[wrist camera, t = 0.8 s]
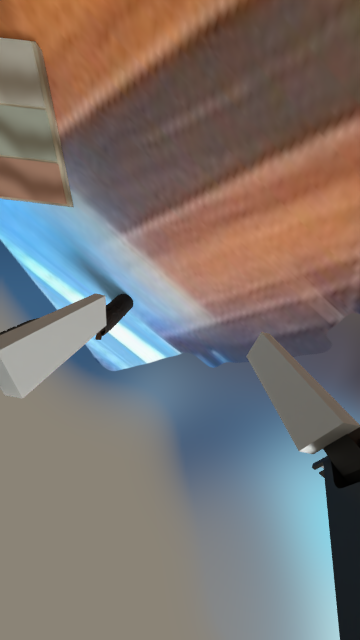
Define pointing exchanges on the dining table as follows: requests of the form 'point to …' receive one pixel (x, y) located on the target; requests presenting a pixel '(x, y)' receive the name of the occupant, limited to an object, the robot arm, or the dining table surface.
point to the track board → (29, 129)
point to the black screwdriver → (115, 313)
